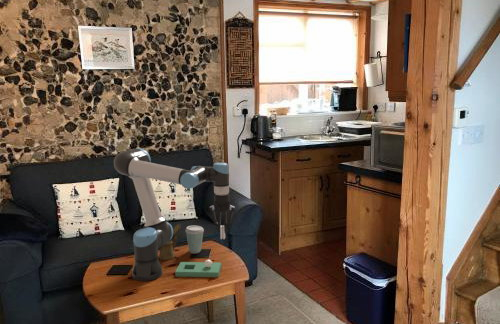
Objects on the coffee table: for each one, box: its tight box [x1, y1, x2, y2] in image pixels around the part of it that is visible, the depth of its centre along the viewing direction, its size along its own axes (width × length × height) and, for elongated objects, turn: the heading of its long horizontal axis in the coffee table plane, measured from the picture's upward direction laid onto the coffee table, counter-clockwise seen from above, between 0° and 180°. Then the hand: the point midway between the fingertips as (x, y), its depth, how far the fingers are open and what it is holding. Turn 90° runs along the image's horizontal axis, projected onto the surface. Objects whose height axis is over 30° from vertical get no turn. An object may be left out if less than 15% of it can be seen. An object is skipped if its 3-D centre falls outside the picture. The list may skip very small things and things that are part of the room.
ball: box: [204, 259, 213, 268], centre depth 213 cm, size 4×4×4 cm
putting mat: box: [174, 261, 222, 278], centre depth 214 cm, size 22×12×2 cm, turn 86°
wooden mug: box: [158, 223, 181, 261], centre depth 233 cm, size 9×14×18 cm, turn 123°
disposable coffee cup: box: [185, 225, 205, 254], centre depth 239 cm, size 11×11×15 cm
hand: (222, 238), depth 210 cm, fingers closed
